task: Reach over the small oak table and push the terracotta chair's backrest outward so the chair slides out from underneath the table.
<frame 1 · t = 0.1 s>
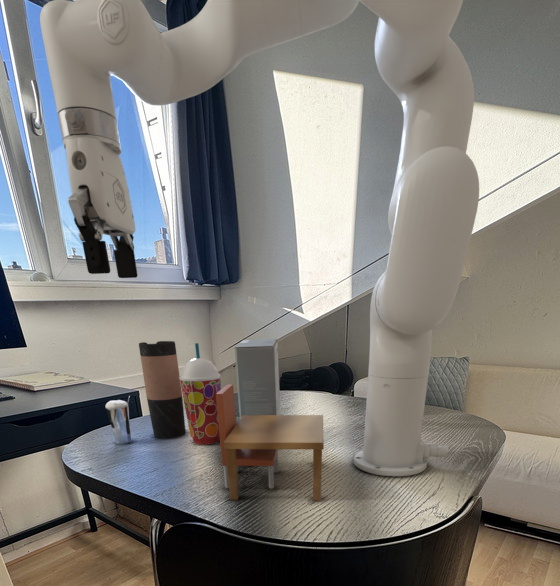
hand: (114, 275, 64), 31 cm above the table, tool pointing down, fingers open, 9 cm apart
milkshake: (125, 442, 90), on the table
chair: (250, 435, 65), point 8 cm above the table, slide at 0.0 cm
travel mug: (170, 435, 95), on the table
mini table: (279, 480, 68), on the table
hard drive box: (262, 439, 90), on the table
smoothie: (206, 441, 89), on the table
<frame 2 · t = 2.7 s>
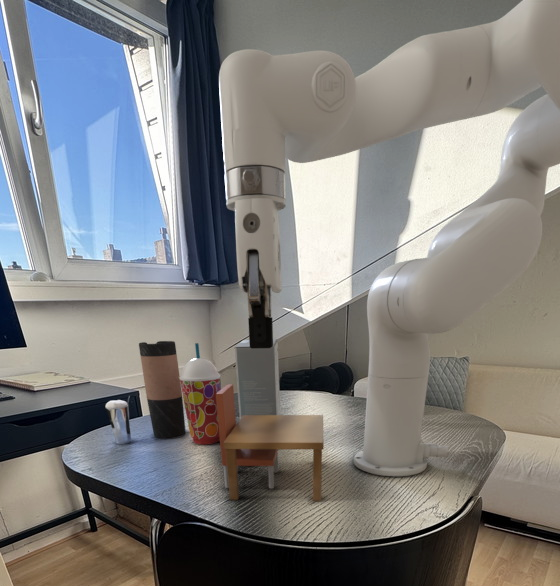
hand: (261, 347, 59), 21 cm above the table, tool pointing down, fingers closed
nothing on the table moved.
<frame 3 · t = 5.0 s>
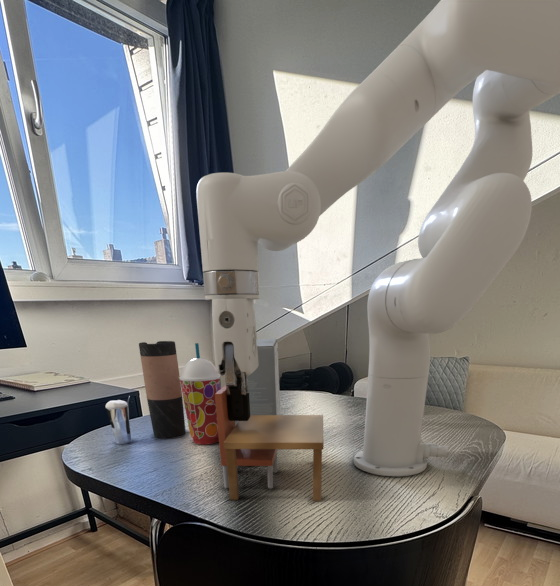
hand: (239, 419, 64), 10 cm above the table, tool pointing down, fingers closed
chair: (249, 435, 65), point 8 cm above the table, slide at 0.2 cm, touching gripper
everything else where it was.
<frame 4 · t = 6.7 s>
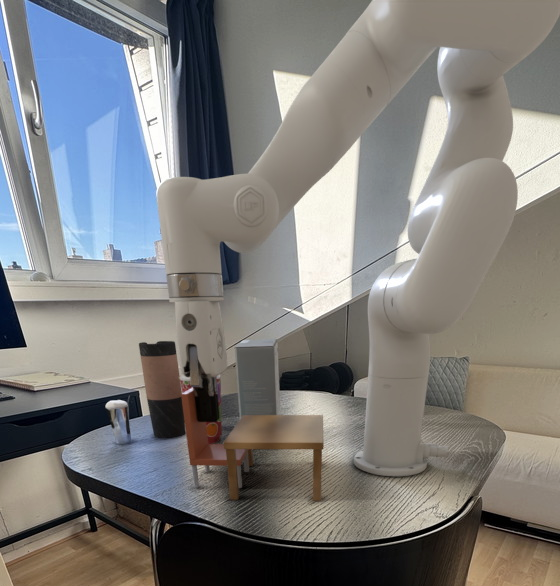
hand: (208, 420, 65), 10 cm above the table, tool pointing down, fingers closed
chair: (218, 435, 65), point 8 cm above the table, slide at 5.1 cm
everything else where it was.
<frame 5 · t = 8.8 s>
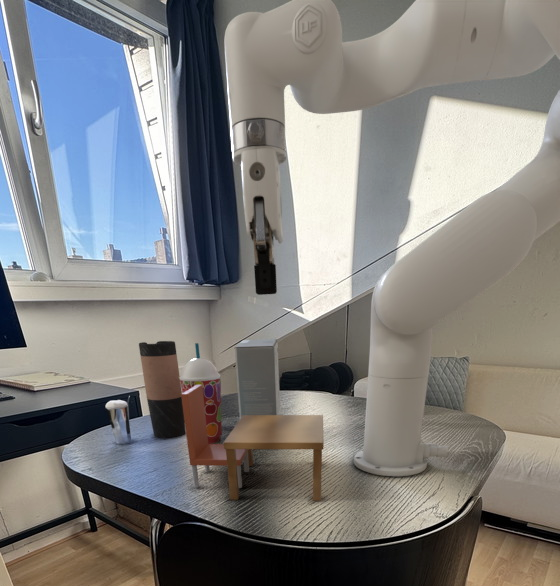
hand: (266, 293, 65), 28 cm above the table, tool pointing down, fingers closed
nothing on the table moved.
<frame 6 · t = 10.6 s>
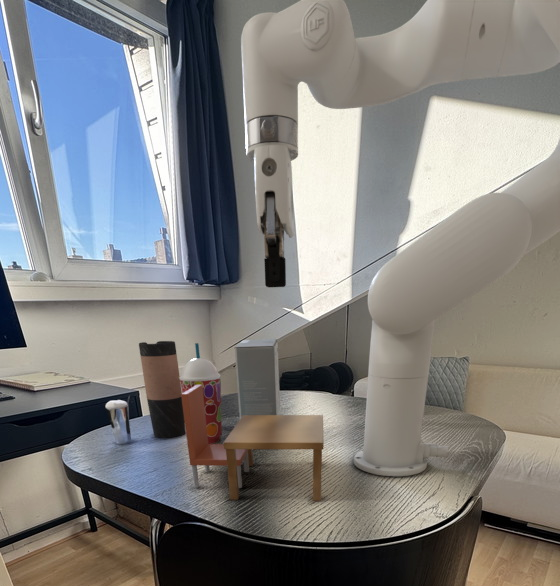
hand: (275, 286, 66), 29 cm above the table, tool pointing down, fingers closed
nothing on the table moved.
at the end: chair slide at 5.1 cm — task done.
